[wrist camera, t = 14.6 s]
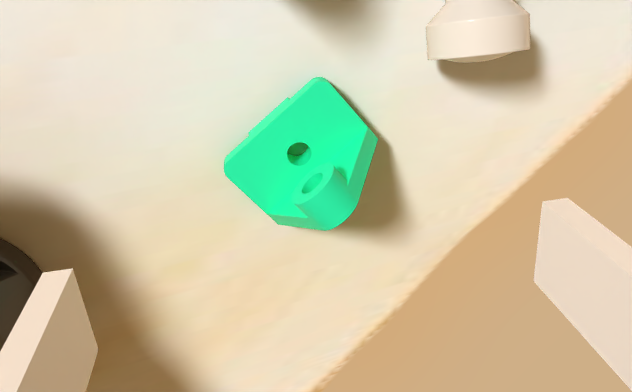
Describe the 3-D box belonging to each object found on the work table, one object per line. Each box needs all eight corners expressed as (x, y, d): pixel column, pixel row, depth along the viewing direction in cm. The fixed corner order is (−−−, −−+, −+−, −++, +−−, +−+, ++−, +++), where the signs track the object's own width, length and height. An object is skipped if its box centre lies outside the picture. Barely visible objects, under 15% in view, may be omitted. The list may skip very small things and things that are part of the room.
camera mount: (318, 69, 48) (340, 100, 39) (371, 129, 52) (403, 172, 42) (219, 158, 51) (217, 208, 41) (275, 211, 54) (286, 269, 44)
